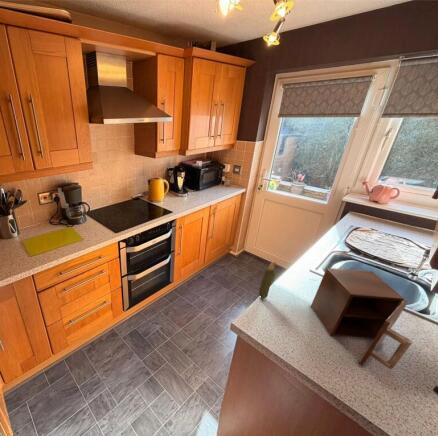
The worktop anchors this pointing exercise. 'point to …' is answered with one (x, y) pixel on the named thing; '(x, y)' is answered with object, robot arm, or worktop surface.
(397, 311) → the shelf door
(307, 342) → the worktop surface
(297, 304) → the worktop surface
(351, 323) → the cupboard
